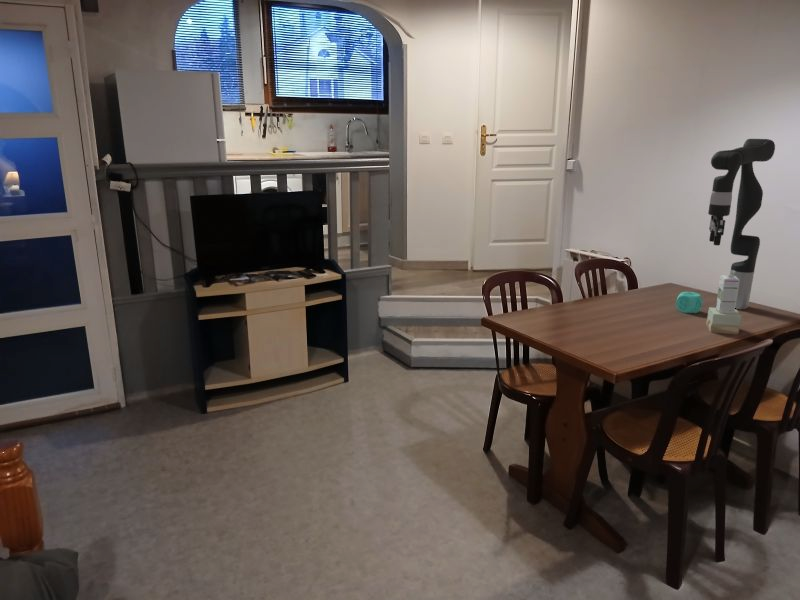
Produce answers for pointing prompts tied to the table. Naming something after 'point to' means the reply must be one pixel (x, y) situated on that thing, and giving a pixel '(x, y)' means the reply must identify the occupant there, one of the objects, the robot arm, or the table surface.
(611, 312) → the table surface
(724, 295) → the syrup box
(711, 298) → the table surface
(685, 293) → the decorative dice
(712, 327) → the tower bottom
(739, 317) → the tower top
